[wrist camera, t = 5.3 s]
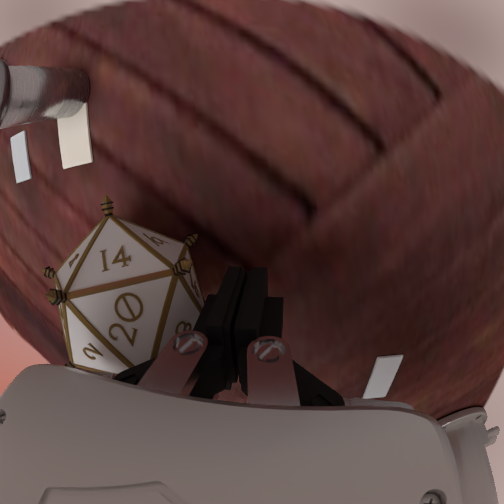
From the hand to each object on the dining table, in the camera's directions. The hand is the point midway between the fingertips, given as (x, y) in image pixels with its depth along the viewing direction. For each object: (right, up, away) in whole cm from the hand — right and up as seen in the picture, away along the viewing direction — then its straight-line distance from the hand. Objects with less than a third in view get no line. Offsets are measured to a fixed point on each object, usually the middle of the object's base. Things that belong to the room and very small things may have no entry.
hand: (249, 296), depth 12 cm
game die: (-5, +1, +3) cm, 6 cm away
